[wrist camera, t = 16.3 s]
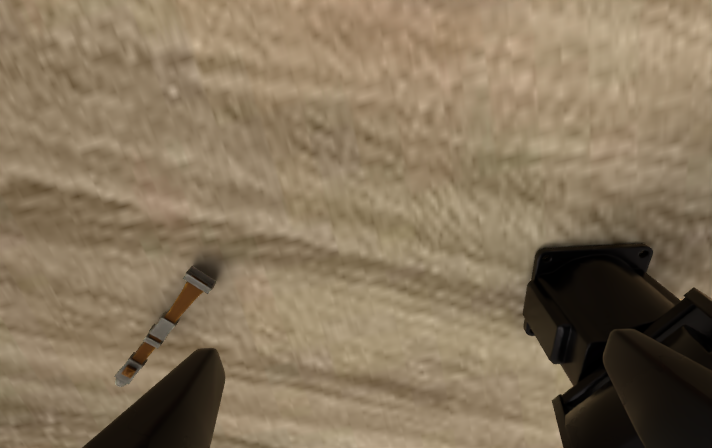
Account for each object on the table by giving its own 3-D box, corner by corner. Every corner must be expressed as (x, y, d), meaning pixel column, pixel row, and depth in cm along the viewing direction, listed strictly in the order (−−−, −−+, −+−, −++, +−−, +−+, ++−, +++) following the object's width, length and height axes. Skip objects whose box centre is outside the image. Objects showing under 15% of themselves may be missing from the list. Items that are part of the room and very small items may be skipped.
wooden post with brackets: (127, 349, 25) (97, 385, 21) (199, 257, 25) (184, 273, 21) (151, 362, 26) (126, 400, 21) (221, 271, 26) (211, 290, 22)
